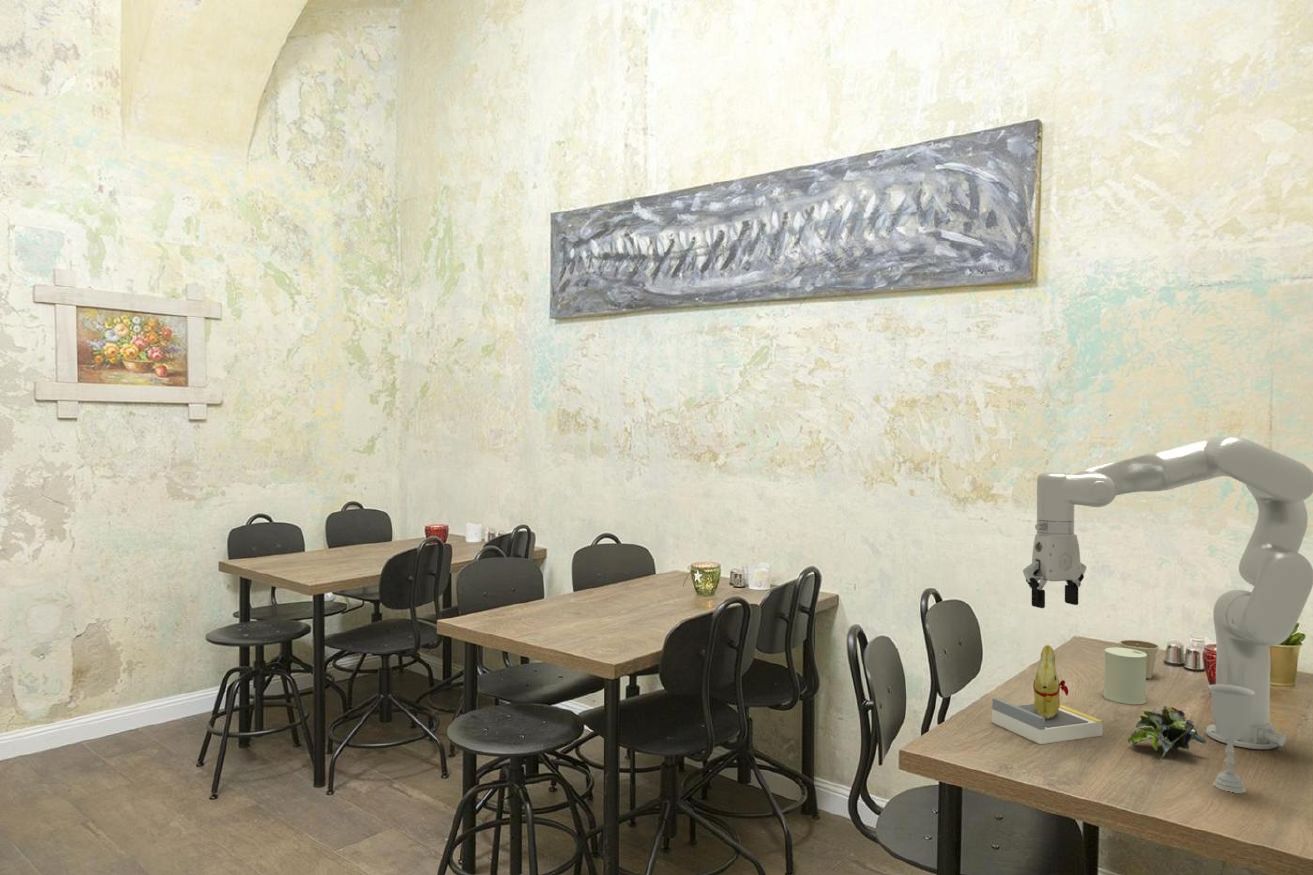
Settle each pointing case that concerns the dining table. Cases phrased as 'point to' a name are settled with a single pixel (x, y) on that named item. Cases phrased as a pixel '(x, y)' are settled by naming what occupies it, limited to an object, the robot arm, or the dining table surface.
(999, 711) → the dock
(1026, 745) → the dining table surface
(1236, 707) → the chalice
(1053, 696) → the chocolate bunny
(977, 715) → the dining table surface
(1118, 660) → the can
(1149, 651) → the flower pot
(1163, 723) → the leafy plant
